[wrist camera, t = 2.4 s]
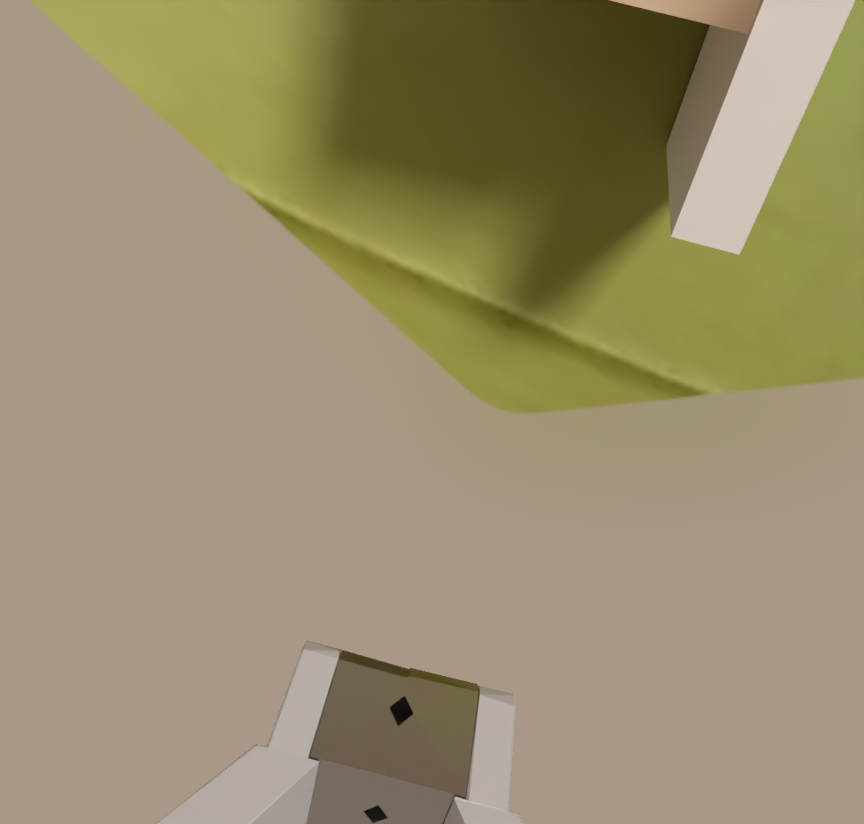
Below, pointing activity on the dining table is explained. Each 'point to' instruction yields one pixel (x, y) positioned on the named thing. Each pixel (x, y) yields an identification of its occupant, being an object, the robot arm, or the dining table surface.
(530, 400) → the dining table surface
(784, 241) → the dining table surface
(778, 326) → the dining table surface
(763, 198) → the door
